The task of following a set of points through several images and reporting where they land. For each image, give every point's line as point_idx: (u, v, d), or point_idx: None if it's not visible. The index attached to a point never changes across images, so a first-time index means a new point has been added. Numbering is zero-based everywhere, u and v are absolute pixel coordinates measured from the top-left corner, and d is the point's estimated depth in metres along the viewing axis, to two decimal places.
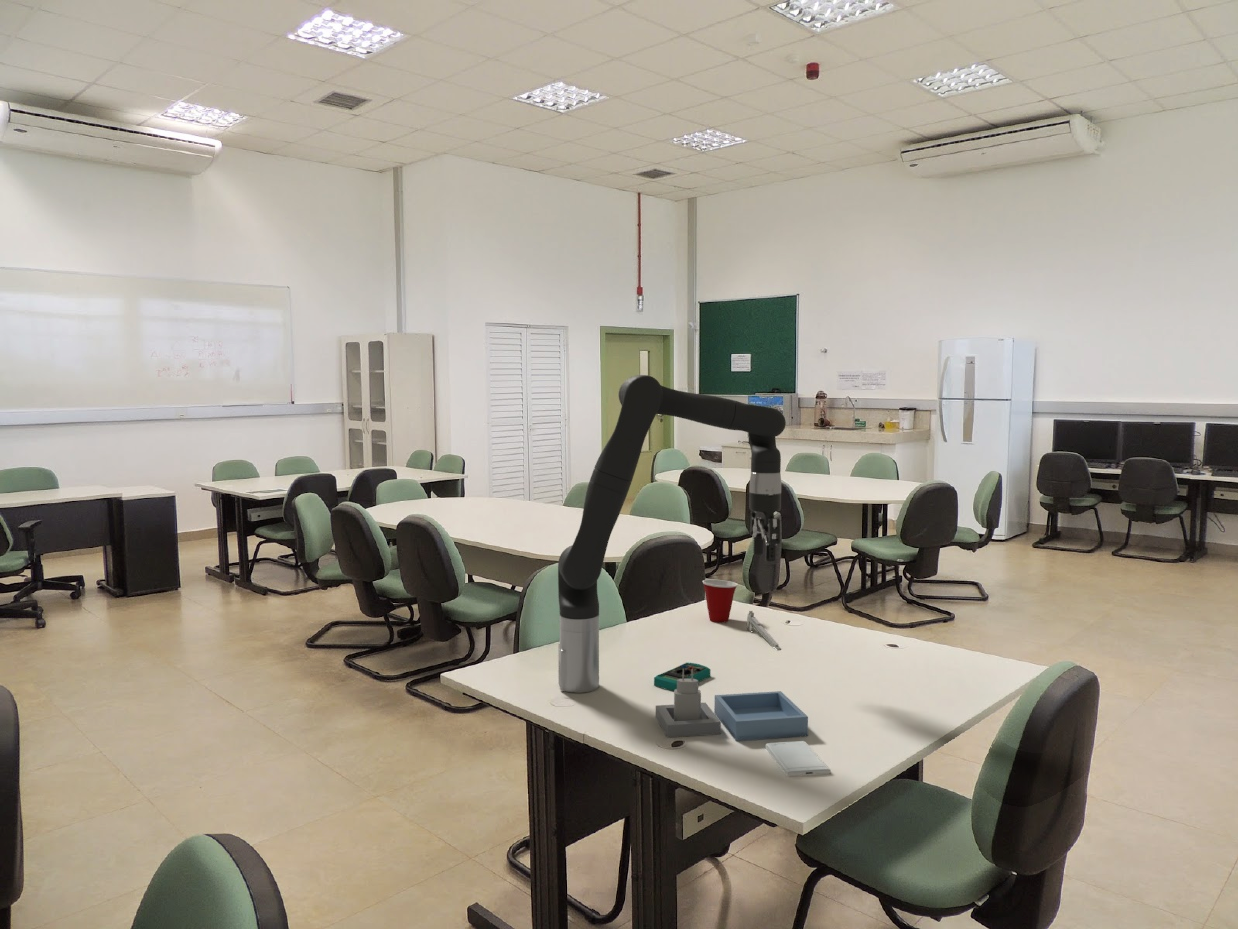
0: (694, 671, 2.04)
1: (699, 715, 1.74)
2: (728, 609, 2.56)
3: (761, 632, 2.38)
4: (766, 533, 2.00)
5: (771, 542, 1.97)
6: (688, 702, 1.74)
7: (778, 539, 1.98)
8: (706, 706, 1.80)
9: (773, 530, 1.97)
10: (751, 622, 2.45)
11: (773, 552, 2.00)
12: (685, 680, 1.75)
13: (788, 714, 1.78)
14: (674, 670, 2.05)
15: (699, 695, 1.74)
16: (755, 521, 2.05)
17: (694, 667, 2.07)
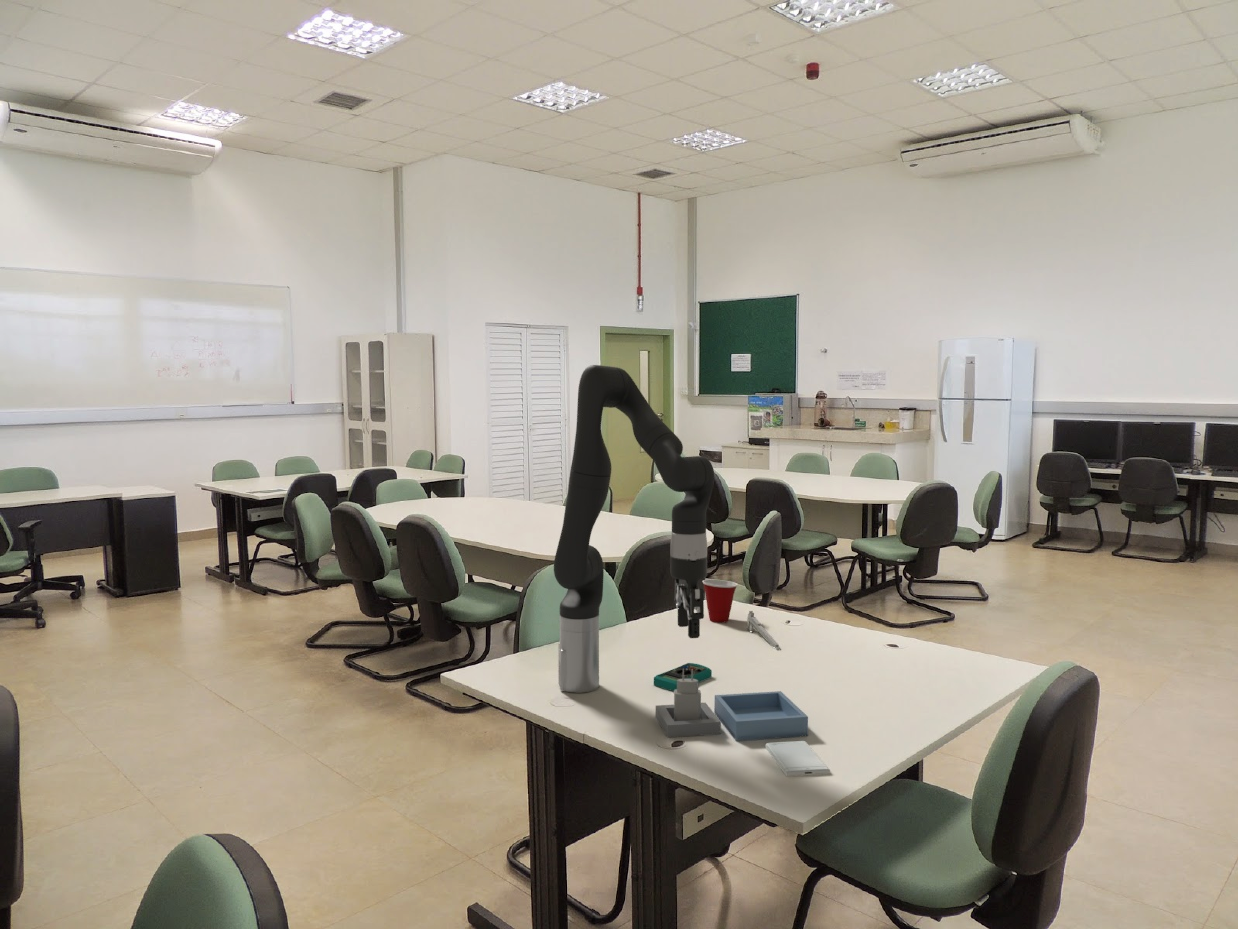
0: (695, 671, 2.04)
1: (699, 715, 1.74)
2: (728, 609, 2.56)
3: (761, 632, 2.38)
4: (689, 605, 1.70)
5: (693, 617, 1.67)
6: (688, 702, 1.74)
7: (702, 613, 1.67)
8: (706, 706, 1.80)
9: (695, 603, 1.67)
10: (751, 622, 2.45)
11: (697, 628, 1.69)
12: (685, 680, 1.75)
13: (788, 714, 1.78)
14: (675, 670, 2.05)
15: (699, 695, 1.74)
16: (678, 589, 1.75)
17: (695, 667, 2.07)
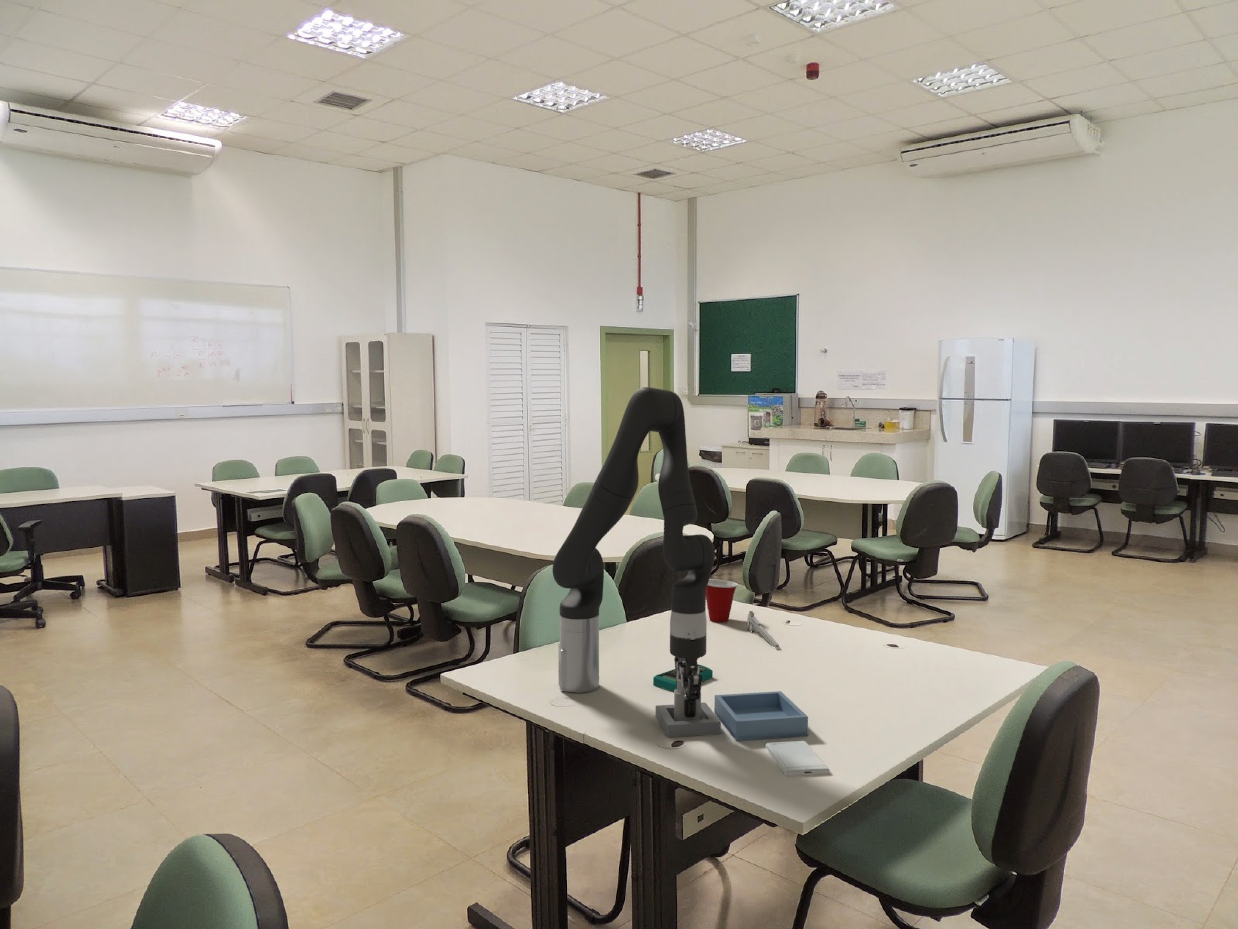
0: None
1: (699, 715, 1.75)
2: (728, 609, 2.56)
3: (761, 632, 2.38)
4: (686, 686, 1.73)
5: (689, 698, 1.70)
6: None
7: (698, 696, 1.71)
8: (706, 706, 1.80)
9: (693, 688, 1.69)
10: (751, 622, 2.45)
11: (693, 707, 1.73)
12: None
13: (788, 714, 1.78)
14: None
15: None
16: (677, 665, 1.76)
17: None
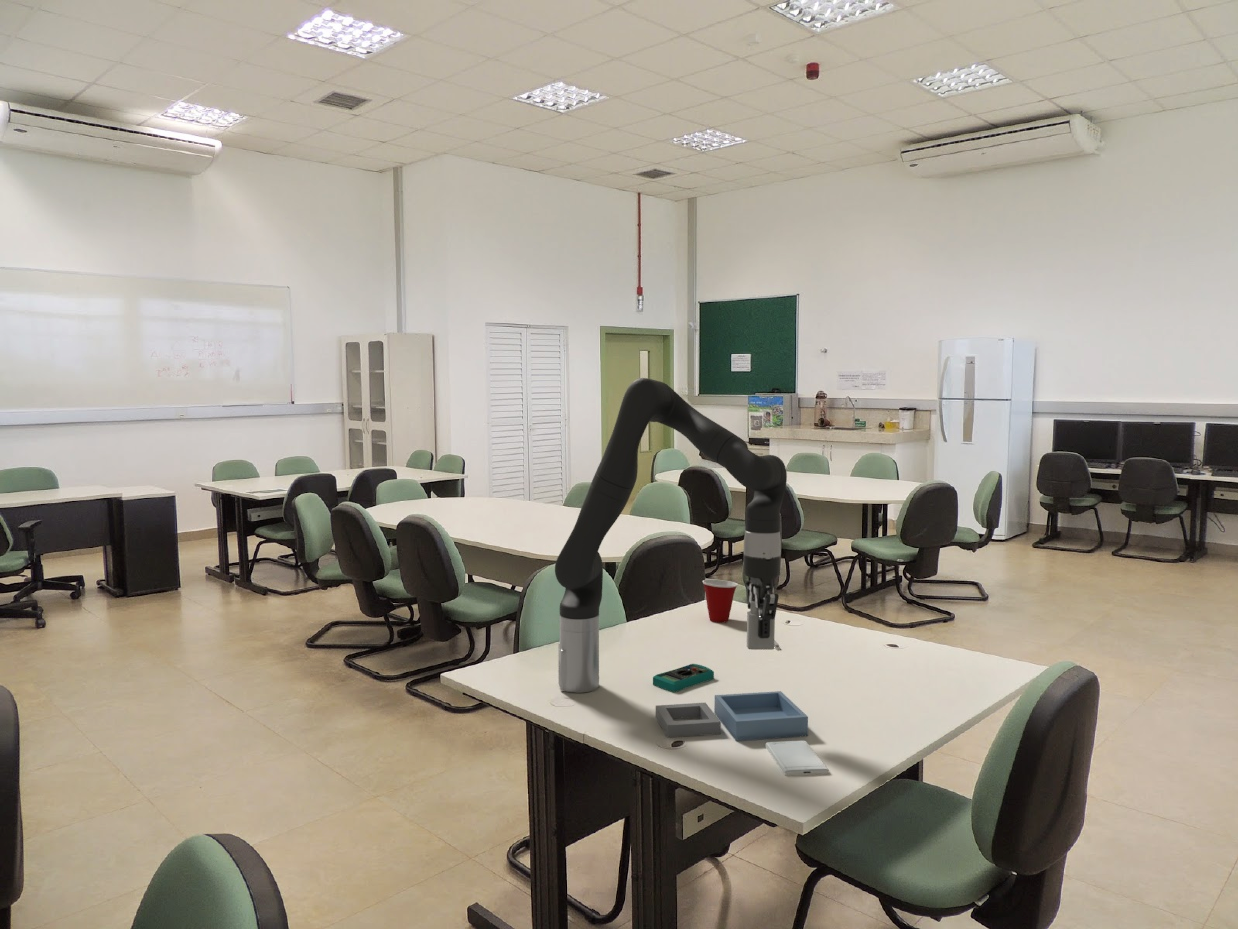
0: (696, 672, 2.03)
1: (773, 636, 1.74)
2: (728, 609, 2.56)
3: None
4: (761, 606, 1.72)
5: (765, 617, 1.70)
6: None
7: (773, 615, 1.70)
8: (706, 706, 1.80)
9: (769, 607, 1.69)
10: None
11: (767, 628, 1.72)
12: None
13: (788, 714, 1.78)
14: (676, 670, 2.04)
15: None
16: (750, 587, 1.75)
17: (698, 669, 2.06)
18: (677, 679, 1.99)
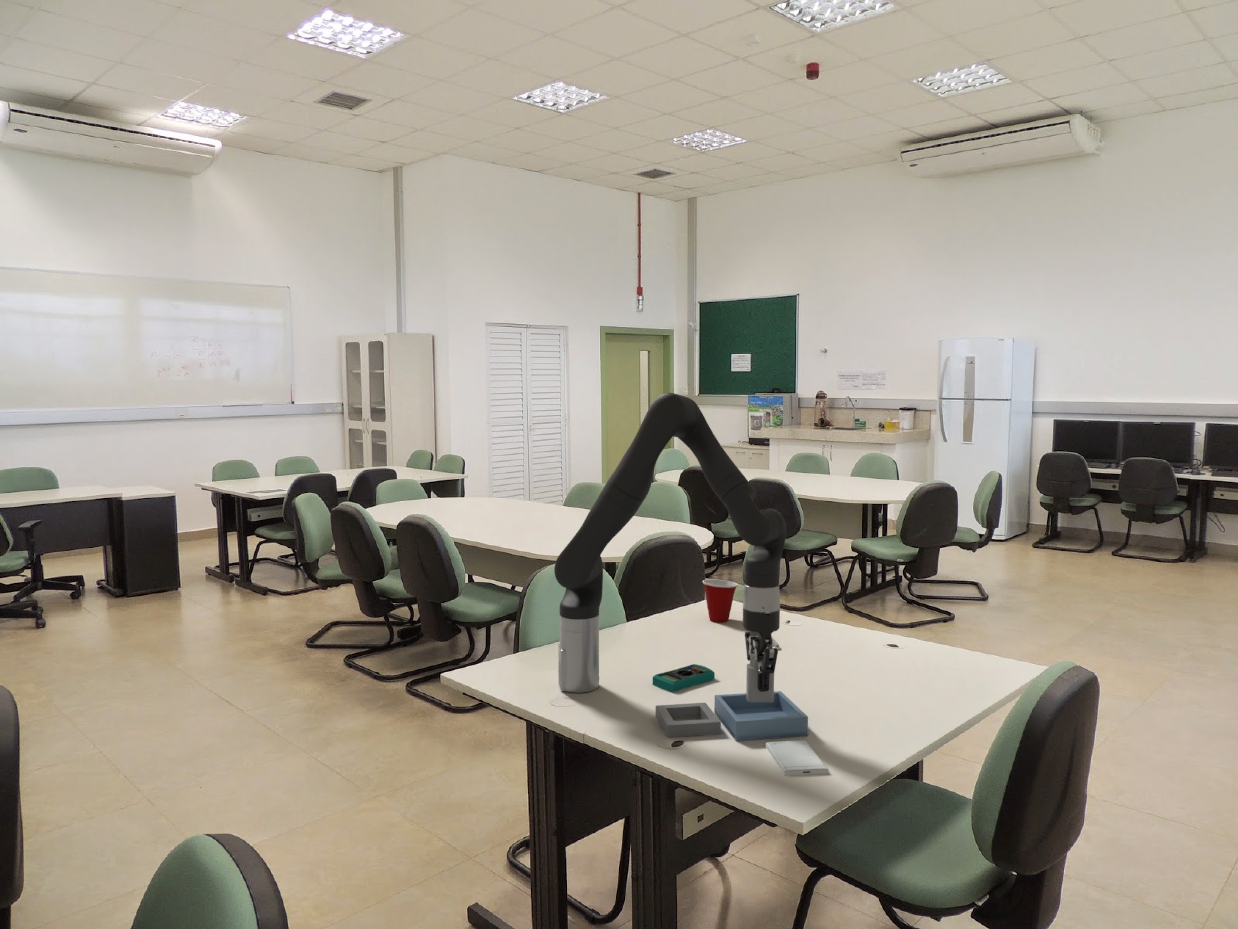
0: (696, 673, 2.03)
1: (772, 689, 1.75)
2: (728, 609, 2.56)
3: None
4: (760, 660, 1.73)
5: (764, 671, 1.71)
6: None
7: (773, 669, 1.71)
8: (706, 706, 1.80)
9: (768, 661, 1.70)
10: None
11: (767, 681, 1.73)
12: None
13: (788, 714, 1.78)
14: (676, 671, 2.04)
15: None
16: (750, 640, 1.76)
17: (699, 669, 2.06)
18: (677, 679, 1.99)
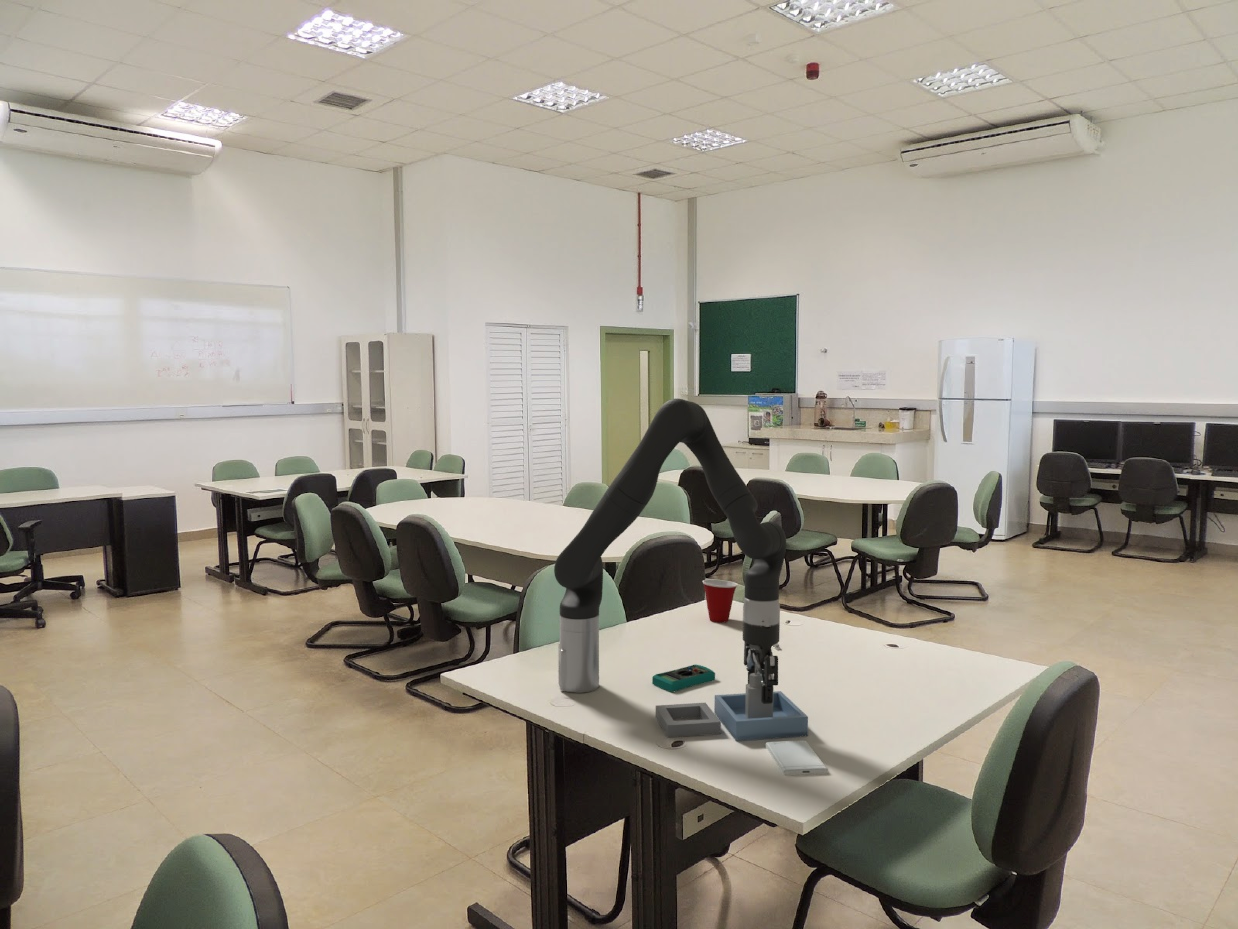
0: (696, 673, 2.03)
1: (772, 708, 1.75)
2: (728, 609, 2.56)
3: None
4: (762, 671, 1.72)
5: (768, 684, 1.69)
6: None
7: (776, 680, 1.69)
8: (706, 706, 1.80)
9: (770, 670, 1.69)
10: None
11: (770, 694, 1.71)
12: (757, 674, 1.76)
13: (788, 714, 1.78)
14: (677, 671, 2.04)
15: None
16: (749, 653, 1.76)
17: (699, 669, 2.05)
18: (676, 679, 1.99)
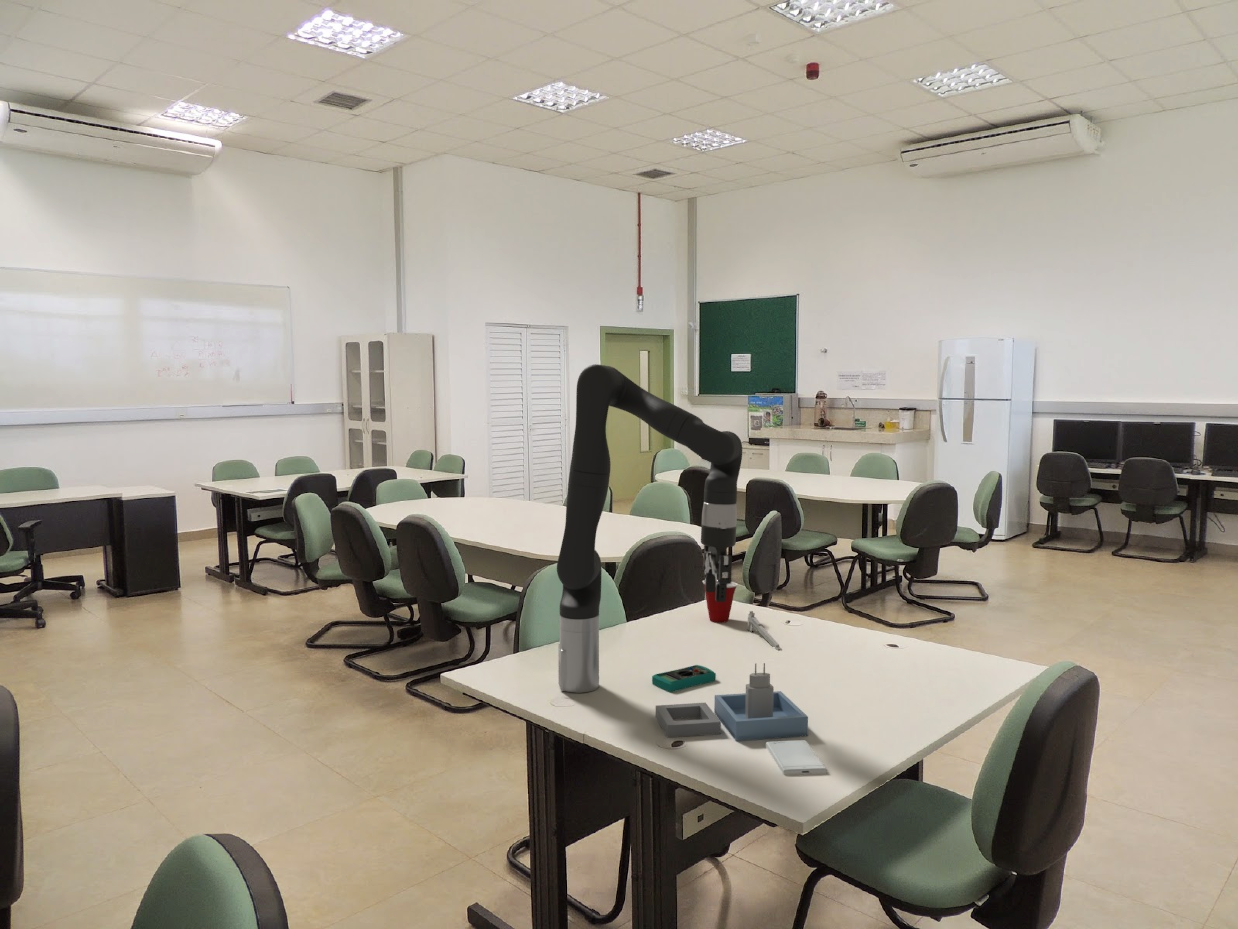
0: (696, 674, 2.02)
1: (772, 708, 1.75)
2: (728, 609, 2.56)
3: (762, 632, 2.38)
4: (717, 571, 1.81)
5: (721, 581, 1.78)
6: (762, 696, 1.75)
7: (729, 578, 1.78)
8: (706, 706, 1.80)
9: (724, 568, 1.78)
10: (752, 623, 2.45)
11: (724, 592, 1.80)
12: (757, 674, 1.76)
13: (788, 714, 1.78)
14: (677, 671, 2.04)
15: (772, 689, 1.75)
16: (707, 556, 1.85)
17: (700, 670, 2.05)
18: (675, 679, 1.99)
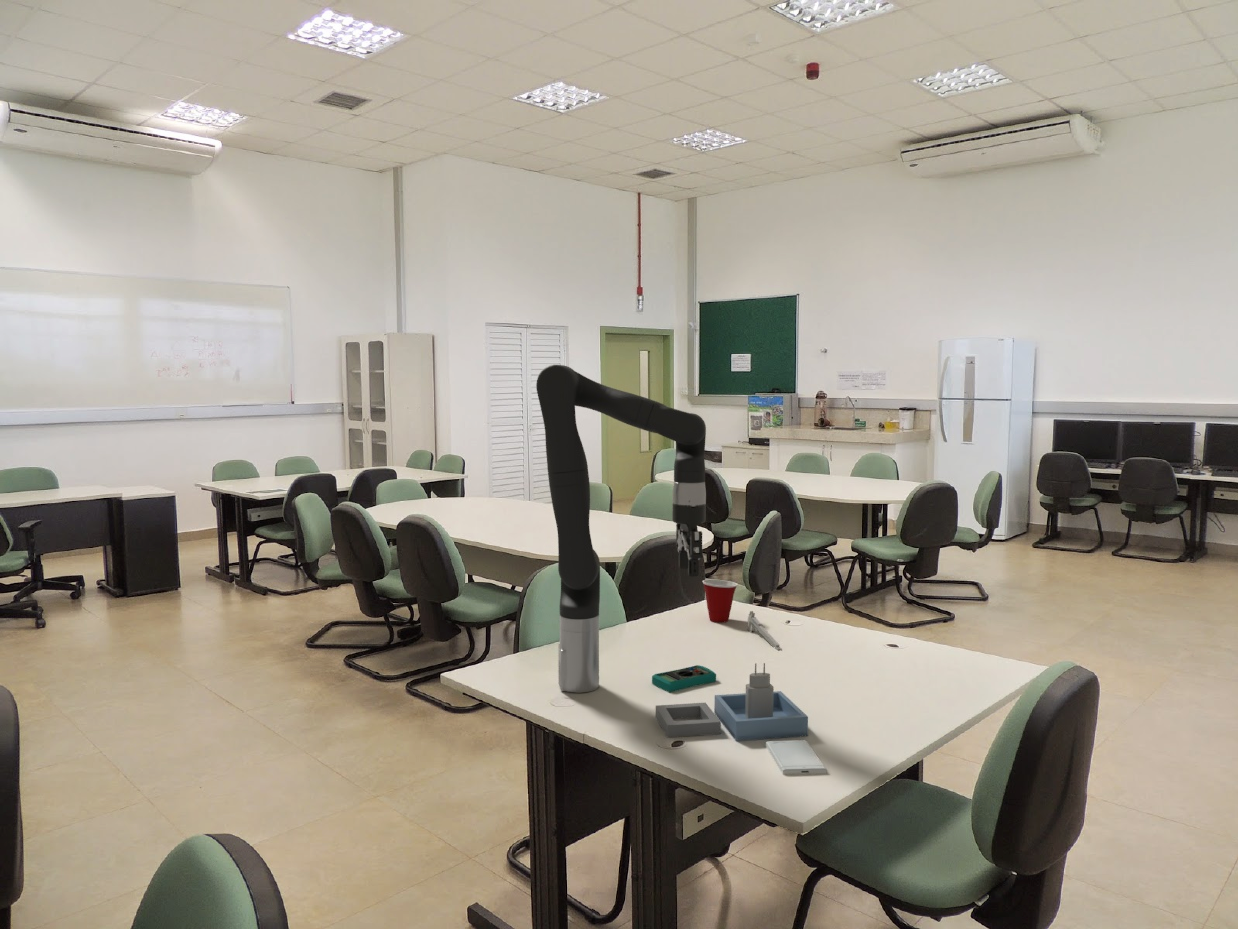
0: (696, 674, 2.02)
1: (772, 708, 1.75)
2: (728, 609, 2.56)
3: (762, 632, 2.38)
4: (689, 546, 1.89)
5: (693, 556, 1.86)
6: (762, 696, 1.75)
7: (700, 553, 1.86)
8: (706, 706, 1.80)
9: (695, 543, 1.86)
10: (752, 623, 2.45)
11: (696, 567, 1.88)
12: (757, 674, 1.76)
13: (788, 714, 1.78)
14: (678, 671, 2.04)
15: (772, 689, 1.75)
16: (679, 533, 1.93)
17: (701, 670, 2.05)
18: (675, 679, 1.99)
